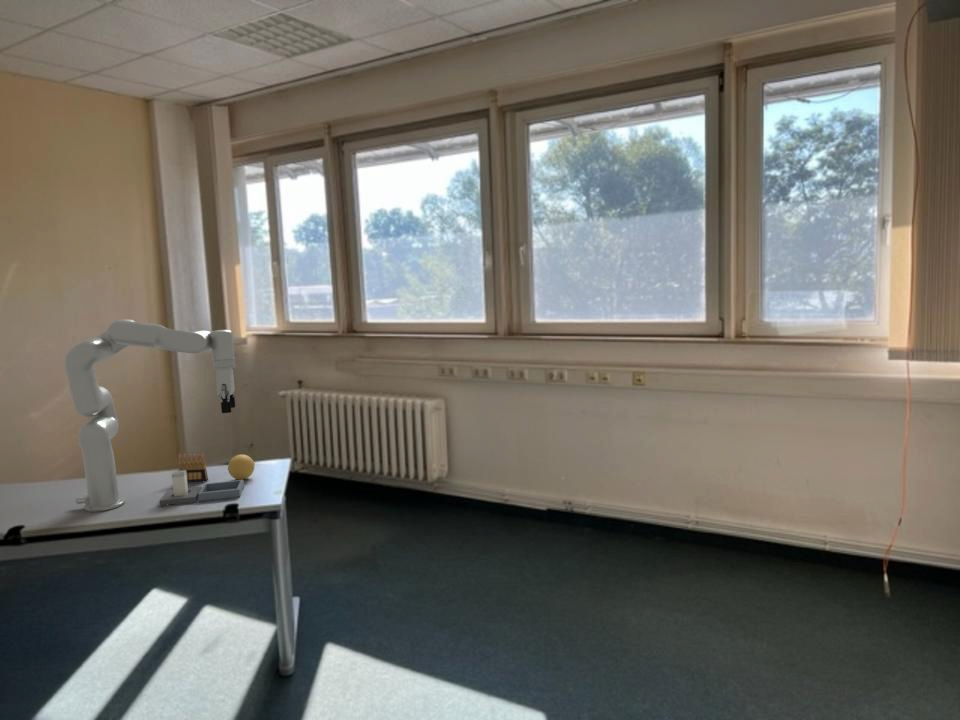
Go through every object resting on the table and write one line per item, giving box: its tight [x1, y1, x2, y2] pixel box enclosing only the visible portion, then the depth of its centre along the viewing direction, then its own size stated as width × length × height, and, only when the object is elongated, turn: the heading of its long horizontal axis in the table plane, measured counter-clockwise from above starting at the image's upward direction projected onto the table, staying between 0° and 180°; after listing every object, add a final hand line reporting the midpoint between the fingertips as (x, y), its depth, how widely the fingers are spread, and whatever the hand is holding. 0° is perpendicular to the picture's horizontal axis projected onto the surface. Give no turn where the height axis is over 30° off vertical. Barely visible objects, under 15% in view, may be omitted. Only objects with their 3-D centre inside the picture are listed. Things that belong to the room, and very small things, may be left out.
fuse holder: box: [158, 486, 203, 506], centre depth 238 cm, size 12×12×2 cm
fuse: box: [171, 470, 189, 496], centre depth 238 cm, size 4×4×10 cm
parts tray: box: [198, 479, 245, 503], centre depth 241 cm, size 14×12×3 cm
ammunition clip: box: [178, 451, 209, 484], centre depth 258 cm, size 11×2×12 cm, turn 91°
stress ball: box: [227, 454, 255, 480], centre depth 258 cm, size 10×10×10 cm
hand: (228, 410), depth 239 cm, fingers open, 9 cm apart
